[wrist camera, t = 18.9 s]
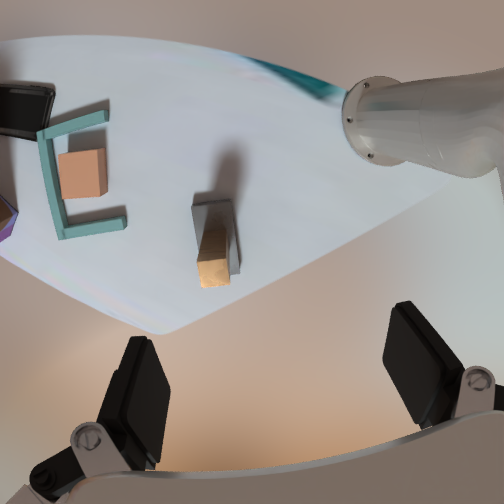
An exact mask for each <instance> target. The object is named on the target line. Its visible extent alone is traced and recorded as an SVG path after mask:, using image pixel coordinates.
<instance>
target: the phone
mask: <svg viewBox="0 0 504 504" xmlns="http://www.w3.org/2000/svg"><path fill="white" fill-rule="evenodd" d="M54 99H55V91H54V90H53V89H51V88H46V87H40V86H36V87H35V86H31V85H30V86H22V85H8V84H0V135H6V136H11V137H16V138H21V139H26V140H31V141H35V142H38V140H37V132H38V131H41V130H44V129H46V128H48V123H49V119H50V115H51V111H52V107H53V103H54Z"/></svg>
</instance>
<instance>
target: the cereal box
mask: <svg viewBox="0 0 504 504" xmlns="http://www.w3.org/2000/svg"><path fill="white" fill-rule="evenodd" d="M18 213H19V212H18V211H17V210H16V209H14V208H13V207H12V206H11V205H10V204H9V203H8V202H7V201H6V200H5V199H4V198H3V197H2V196H1V195H0V242H1V241H3V240H4V239H6V238H7V237H9V236H10V235H11V233H12V230H13V227H14V224H15V221H16V218H17V216H18Z"/></svg>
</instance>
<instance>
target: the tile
mask: <svg viewBox="0 0 504 504" xmlns="http://www.w3.org/2000/svg"><path fill="white" fill-rule="evenodd" d="M58 160H59V173H60V184H61V194H62V199H72V198H86V197H100V196H102V195H104V194H105V193H107V192H108V188H107V174H106V154H105V148H99V149H90V150H82V151H74V152H67V153H63V154H59V155H58Z"/></svg>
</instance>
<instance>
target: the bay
mask: <svg viewBox="0 0 504 504" xmlns="http://www.w3.org/2000/svg"><path fill="white" fill-rule="evenodd" d="M108 121H109V117H108V110H101V111H98V112H94V113H91V114H88V115H84V116H81V117H78V118H75V119H72V120H69V121H66V122H63V123H60V124H57V125H54V126H52V127H49V128H46V129H44V130H41V131H38V132H37V140H38V147H39V154H40V160H41V166H42V172H43V177H44V182H45V187H46V192H47V196H48V201H49V205H50V209H51V213H52V217H53V221H54V225H55V229H56V232H57V236H58V240H64V239H70V238H75V237H81V236H87V235H93V234H99V233H105V232H112V231H118V230H124V229H125V228H126V227H127V223H126V218H125V216H119V217H113V218H108V219H102V220H96V221H91V222H85V223H80V224H75V225H70V226H68V222H67V218H66V214H65V210H64V206H63V201H62V197H61V192H60V187H59V182H58V177H57V172H56V166H55V160H54V154H53V148H52V141H51V139H52V138H55V137H58V136H61V135H64V134H67V133H70V132H73V131H76V130H79V129H83V128H86V127H89V126H93V125H96V124H100V123H104V122H108Z"/></svg>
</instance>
